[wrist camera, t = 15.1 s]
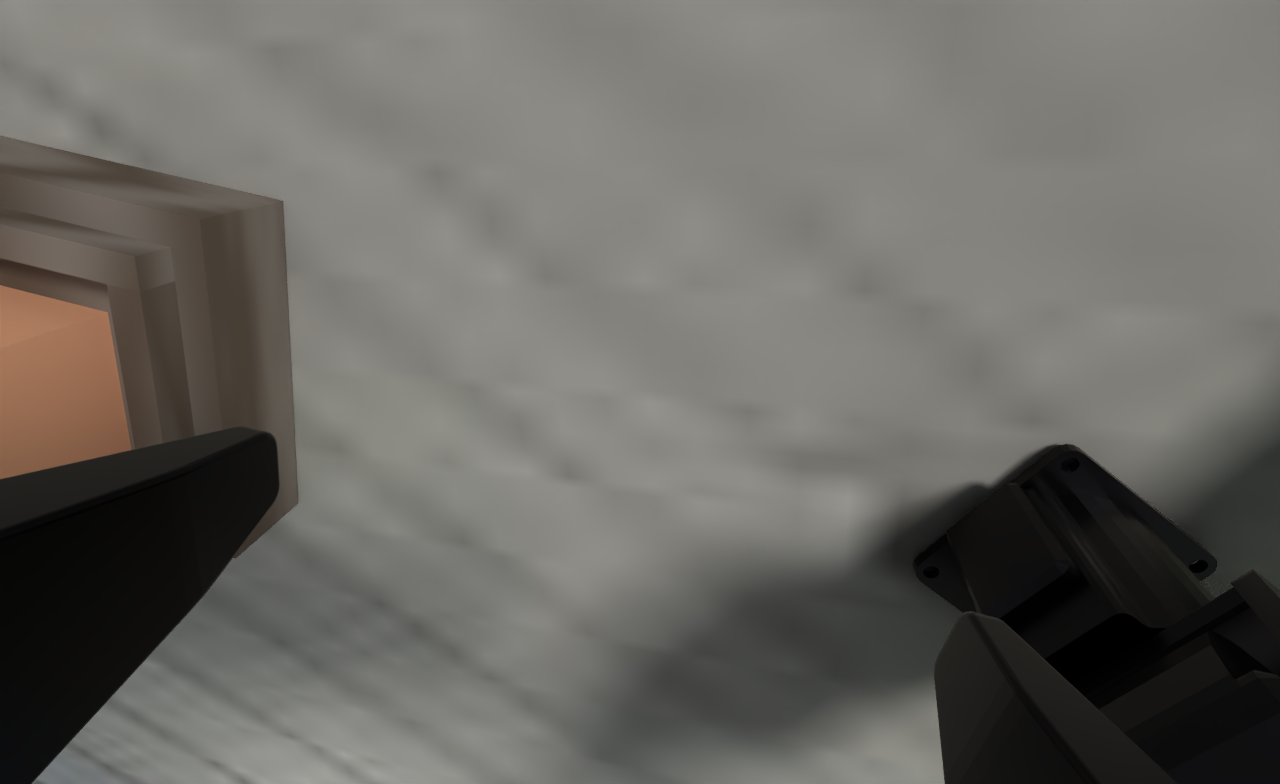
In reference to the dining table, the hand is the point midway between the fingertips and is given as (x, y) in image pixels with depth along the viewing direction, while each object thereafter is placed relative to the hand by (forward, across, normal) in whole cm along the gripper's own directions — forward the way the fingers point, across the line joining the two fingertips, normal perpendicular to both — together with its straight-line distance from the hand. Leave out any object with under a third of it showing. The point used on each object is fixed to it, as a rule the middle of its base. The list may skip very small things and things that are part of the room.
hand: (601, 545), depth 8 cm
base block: (+13, +20, +6) cm, 24 cm away
